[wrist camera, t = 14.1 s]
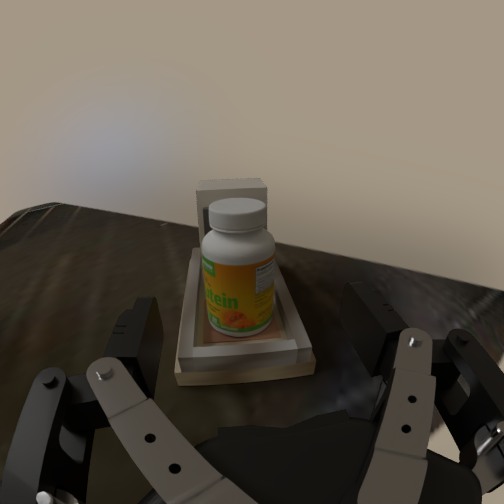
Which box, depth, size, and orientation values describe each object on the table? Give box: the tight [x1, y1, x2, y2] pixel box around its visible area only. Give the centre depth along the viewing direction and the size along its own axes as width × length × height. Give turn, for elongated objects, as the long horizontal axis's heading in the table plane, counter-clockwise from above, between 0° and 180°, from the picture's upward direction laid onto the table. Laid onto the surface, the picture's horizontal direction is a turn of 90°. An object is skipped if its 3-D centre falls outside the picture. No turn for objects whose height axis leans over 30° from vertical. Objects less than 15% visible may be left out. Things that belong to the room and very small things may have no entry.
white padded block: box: [196, 178, 267, 293], centre depth 28 cm, size 6×5×10 cm
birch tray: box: [174, 248, 316, 386], centre depth 27 cm, size 10×18×3 cm, turn 7°
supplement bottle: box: [202, 198, 275, 337], centre depth 22 cm, size 5×5×10 cm
